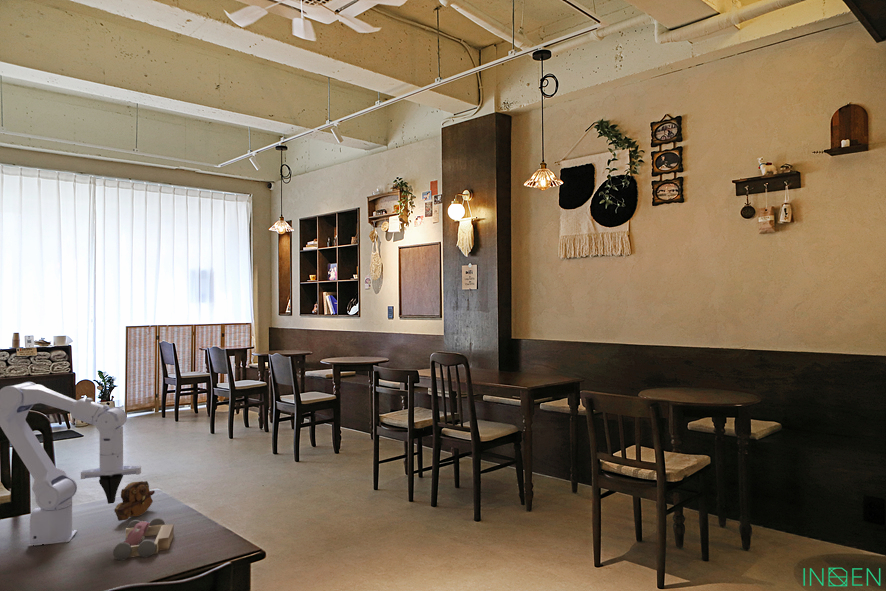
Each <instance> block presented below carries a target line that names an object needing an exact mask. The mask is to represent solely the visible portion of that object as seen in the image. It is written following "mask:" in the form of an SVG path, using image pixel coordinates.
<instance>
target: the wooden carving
mask: <svg viewBox="0 0 886 591" xmlns="http://www.w3.org/2000/svg"><path fill="white" fill-rule="evenodd" d="M154 494H156V492H155V490H150V484H149V482H148V481H147V480H144V481H143V480H141V481H131V482H130V483H128V484H127V485H125V487H124V488H122V489H121V491H120V498H121V500H122V502H120V503H117V505H116V506H115V508H114V513H115V516H116V517H117V520H118V522H121V521H127V520H128V519H130V518H132V517H139V516H141V515H143V514H144V513H146V512H147V511H148V510H149V508H150V507H151V505H152V504H153V501H154V500H153V499H152V496H153V495H154Z"/></svg>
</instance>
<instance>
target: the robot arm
mask: <svg viewBox="0 0 886 591" xmlns="http://www.w3.org/2000/svg"><path fill="white" fill-rule="evenodd" d="M93 400H94V399H93V398H92V397H87V398H85V397H83V398H80V399H77V400H76V399H74V398H72V397H69V396H67V395H64V394H62V393H59V392H57V391H54V390H52V389H50V388H47V387H46V386H44V385H43V384H39V383H38V384H36V383H35V382H33V381H25V382H22V383H18V384H14V385H7V386H3V387H2V388H1V389H0V428H1V430H2V431H3V433H4V435H5V436H6V437H7V439H8V441H9V443H11V445H12V447H13V449H14V450H15V452H16V453H17V456H19V458H20V459H21V461H22V462H23V464H24V465H25V467H26V469H27V471H28V472H29V473H30V475H31V477H32V479H33V484H32V486H31V487H32V488H31V489H32V492H33V493H34V496H35V502H36V506H38V507H34V508H33V509H32V511H31V513H30V516H29V517H30V518H29V543H28V546H29V547H33V545H34V546H41V545H42V544H44V545H52V544H53V545H54V544H61V543H62V544H63V543H68V542H70V541H71V540H72V539H73V537H75V535H76V533H77V532H78V529H73V497H74V496H75V495H76V493H77V490H78V484H77V483H76V481H75V479H73V478H71V477H70V476H68V474H67V473H66V471H64V470H63V469H59V468H57V467H56V465H55V464H54V463H53V461H52V459H51V458H50V456H49V455H48V453H47V452H46V450H45V448H44V447H43V446H42V444H41V442H40V441H39V439H38V438H37V436H36V434H35V433H34V432H33V429H32V428H31V426H30V425H29V423H28V422H27V420H26V419H27V417H28V414H29V411H30V410H31V409H32V408H33V407H34V405H36V404H43V405H46V406H50V407H53V408H57V409H58V410H59V409H60V410H63V411H66V412H69V413H70V416H71V418H73V419H75V420H78V421H80V422H83V423H86V424H90V425H92V426H95V428H96V429H97V430H98V431H99V467H98V468H93V469H92V468H91V469H83V470H82V471H80V480H85V479H91V478H92V479H93V478H99V480H98V483H99V485H100V486H101V487H102V489H103V492H104V494H105V497H106V501H107V504H108V505H110V504H111V505H112V504H115V502H116V496H117V493H118V489H119V488H120V485H121V482H122V480H123V477H124V476H129V475H136V476H137V475H139V476H140V475H141V473H142V466H141V465H124V425H125V423H126V421H127V419H128V417H127V414H126V412H125V410H124V409H123V408H120V406H114V407H110V405H108V404H104V405H103V404H101V403H99V402H95V401H93Z"/></svg>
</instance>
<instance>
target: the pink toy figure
mask: <svg viewBox="0 0 886 591" xmlns="http://www.w3.org/2000/svg"><path fill="white" fill-rule="evenodd" d="M149 525H150V521H146V520H145V521H143V520H141V522H139V523H138V524H136V525H135V527H134V529H133V530H132V531H131V532H130V533H129V534H128V538H126V539H125V540H124V541H123V542H126V543H128V544H130V545H131V546H134V545H139V544H140V543H141V542H142V541H144V540H145V537H146V536H144V534H145V533H146V532H147V530H148V528H149Z"/></svg>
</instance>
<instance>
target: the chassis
mask: <svg viewBox="0 0 886 591" xmlns="http://www.w3.org/2000/svg"><path fill="white" fill-rule="evenodd" d="M139 522H142V520H139V519H134V520H131V521H130V522H129V523H128V525H127V526H126V528H125V539H128V534H129V533H130V532H131V531H132V530H133V529H134V527H135V525H136V524H138V523H139ZM149 523H150V525H149V528H148V530H147V532H146V533H145V534H144V536H145V537H149V536H150V537H151V536H156V538H155V540H154V541H153V540H152V539H144V540H143V541H140V543H139V544H138V545H134V546H131V545H130V544H128V543H126V542H124V541H123V542H119V543H117V544H116V545H115V547H114V548H113V551H112V556H113V557H114V560H115V559H116V560H118V561H124V560H127V559H128V558H132V557H133V556H134V557H140V558H149V557H150V556H152V555H156V554H157V555H158V553H159V551H163V550H169V549H170V546H171V543H172V541H173V538H174V534H175V533H174V524H170V523H169V524H166V522H165V520H164V519H163V518H161V517H155V518H152V519H151V520H150V521H149ZM144 536H143V537H144ZM134 557H133V558H134Z"/></svg>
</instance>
